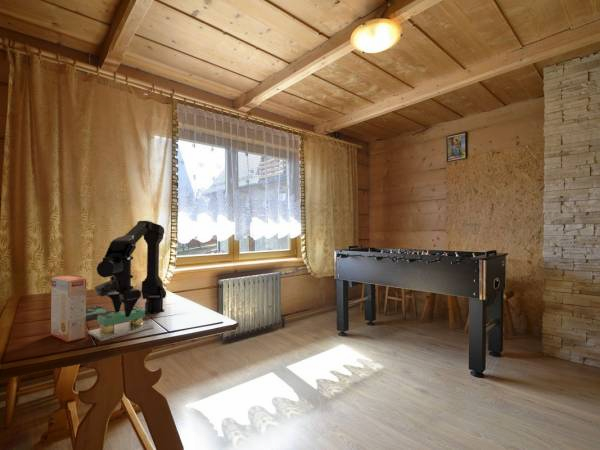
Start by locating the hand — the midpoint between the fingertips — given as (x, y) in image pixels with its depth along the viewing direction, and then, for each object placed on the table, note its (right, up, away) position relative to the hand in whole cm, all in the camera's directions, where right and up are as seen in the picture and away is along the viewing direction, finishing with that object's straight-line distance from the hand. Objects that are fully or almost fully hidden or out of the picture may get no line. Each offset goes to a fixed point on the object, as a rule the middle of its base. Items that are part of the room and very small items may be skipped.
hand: (122, 314), depth 114 cm
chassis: (0, -6, 0) cm, 6 cm away
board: (0, -2, 0) cm, 2 cm away
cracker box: (-15, -6, -6) cm, 18 cm away
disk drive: (-25, -7, +20) cm, 33 cm away
